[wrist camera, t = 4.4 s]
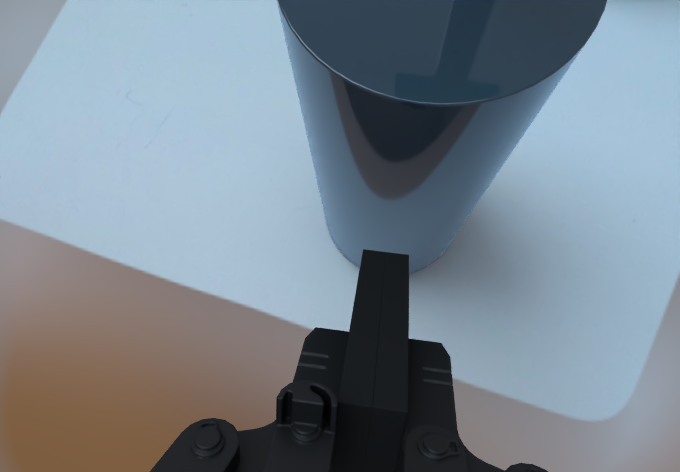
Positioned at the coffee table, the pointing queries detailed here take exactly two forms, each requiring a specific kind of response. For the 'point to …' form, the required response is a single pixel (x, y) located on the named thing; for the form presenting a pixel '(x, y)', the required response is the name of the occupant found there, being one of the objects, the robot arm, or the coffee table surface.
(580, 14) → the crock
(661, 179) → the coffee table surface
